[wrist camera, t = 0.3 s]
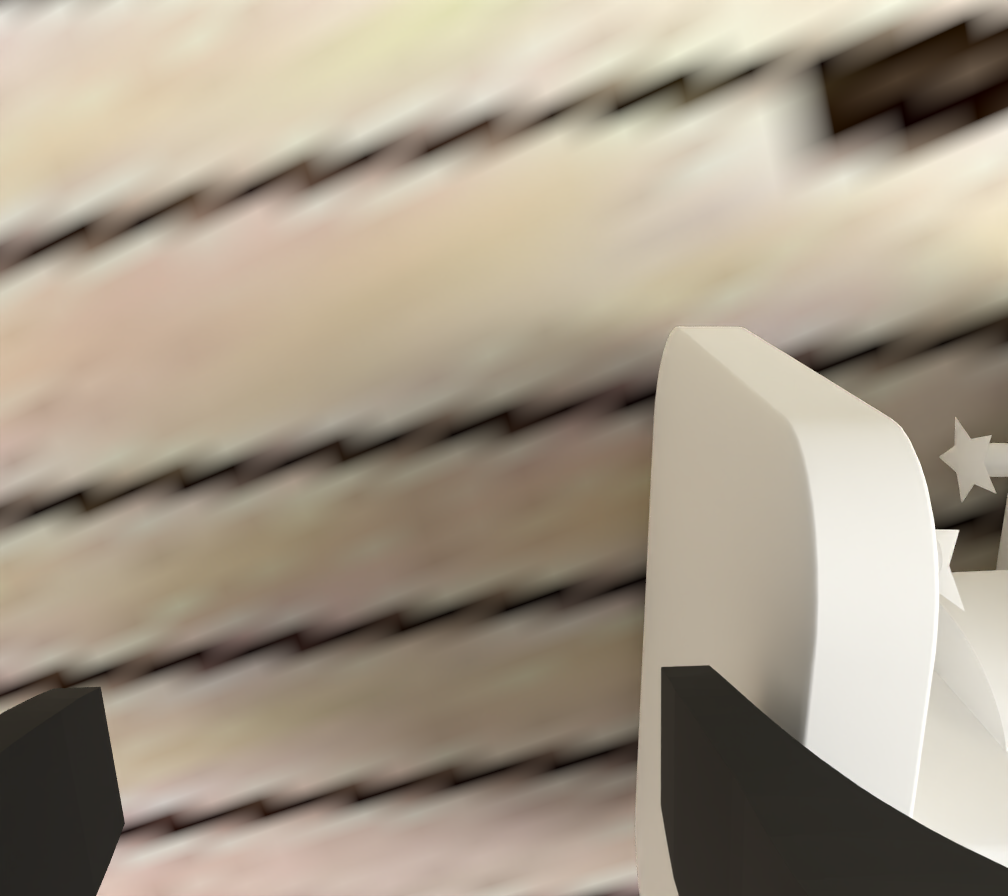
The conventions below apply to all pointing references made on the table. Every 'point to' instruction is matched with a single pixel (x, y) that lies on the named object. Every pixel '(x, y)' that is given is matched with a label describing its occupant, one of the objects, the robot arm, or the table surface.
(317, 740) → the table surface
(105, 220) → the table surface
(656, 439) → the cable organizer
